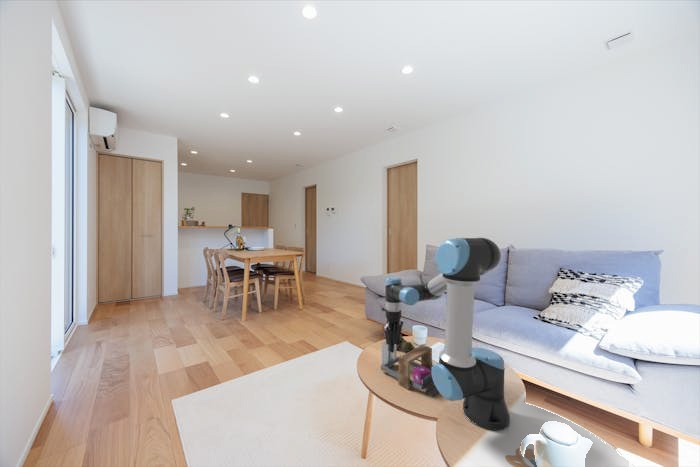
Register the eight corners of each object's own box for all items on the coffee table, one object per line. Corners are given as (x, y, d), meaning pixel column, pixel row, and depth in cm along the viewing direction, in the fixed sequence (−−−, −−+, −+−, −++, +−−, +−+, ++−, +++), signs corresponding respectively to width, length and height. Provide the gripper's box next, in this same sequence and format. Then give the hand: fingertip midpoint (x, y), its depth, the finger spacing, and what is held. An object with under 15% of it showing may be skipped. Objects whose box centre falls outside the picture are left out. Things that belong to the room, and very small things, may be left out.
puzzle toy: (420, 387, 115) (420, 374, 115) (413, 380, 120) (413, 367, 120) (431, 384, 117) (431, 371, 117) (424, 378, 122) (424, 365, 122)
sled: (440, 379, 120) (440, 355, 120) (421, 393, 110) (421, 366, 110) (393, 358, 140) (393, 337, 140) (374, 368, 130) (374, 346, 130)
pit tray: (447, 385, 116) (447, 383, 116) (432, 397, 108) (432, 395, 108) (440, 382, 119) (440, 380, 119) (424, 393, 111) (424, 391, 111)
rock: (390, 342, 161) (384, 340, 153) (401, 330, 161) (396, 327, 153) (405, 360, 153) (399, 359, 145) (417, 347, 153) (412, 345, 145)
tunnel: (431, 374, 125) (431, 348, 125) (408, 389, 113) (408, 361, 113) (422, 369, 129) (422, 344, 129) (398, 384, 117) (398, 357, 117)
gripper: (395, 305, 137) (395, 351, 138) (378, 310, 129) (378, 359, 129) (407, 308, 132) (407, 356, 132) (390, 314, 123) (390, 365, 124)
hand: (393, 357), depth 131 cm, fingers closed
